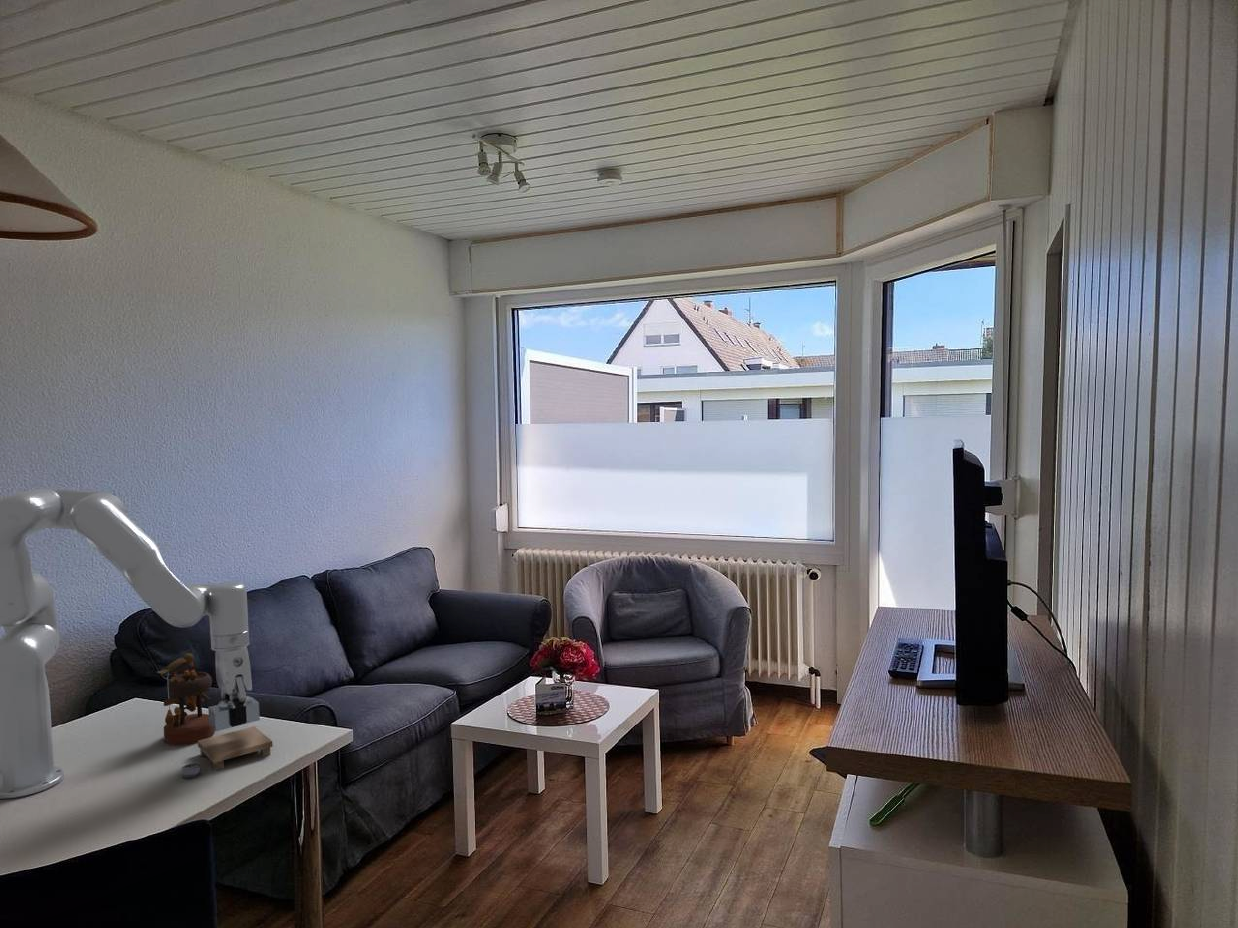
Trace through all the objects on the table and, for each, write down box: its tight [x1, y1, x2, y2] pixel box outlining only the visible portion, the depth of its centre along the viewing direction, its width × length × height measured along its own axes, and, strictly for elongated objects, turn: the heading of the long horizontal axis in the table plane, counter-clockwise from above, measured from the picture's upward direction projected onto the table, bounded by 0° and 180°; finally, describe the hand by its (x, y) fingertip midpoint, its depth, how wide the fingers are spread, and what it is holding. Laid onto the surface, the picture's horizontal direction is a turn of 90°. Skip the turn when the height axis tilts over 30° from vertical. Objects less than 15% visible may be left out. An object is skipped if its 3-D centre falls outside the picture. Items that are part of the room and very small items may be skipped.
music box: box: [156, 653, 216, 746], centre depth 188 cm, size 15×11×20 cm
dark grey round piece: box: [180, 762, 202, 781], centre depth 167 cm, size 4×4×2 cm
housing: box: [207, 695, 261, 732], centre depth 177 cm, size 5×9×5 cm, turn 132°
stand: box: [197, 726, 273, 771], centre depth 177 cm, size 12×12×3 cm
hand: (234, 720), depth 177 cm, fingers closed on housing, 5 cm apart
